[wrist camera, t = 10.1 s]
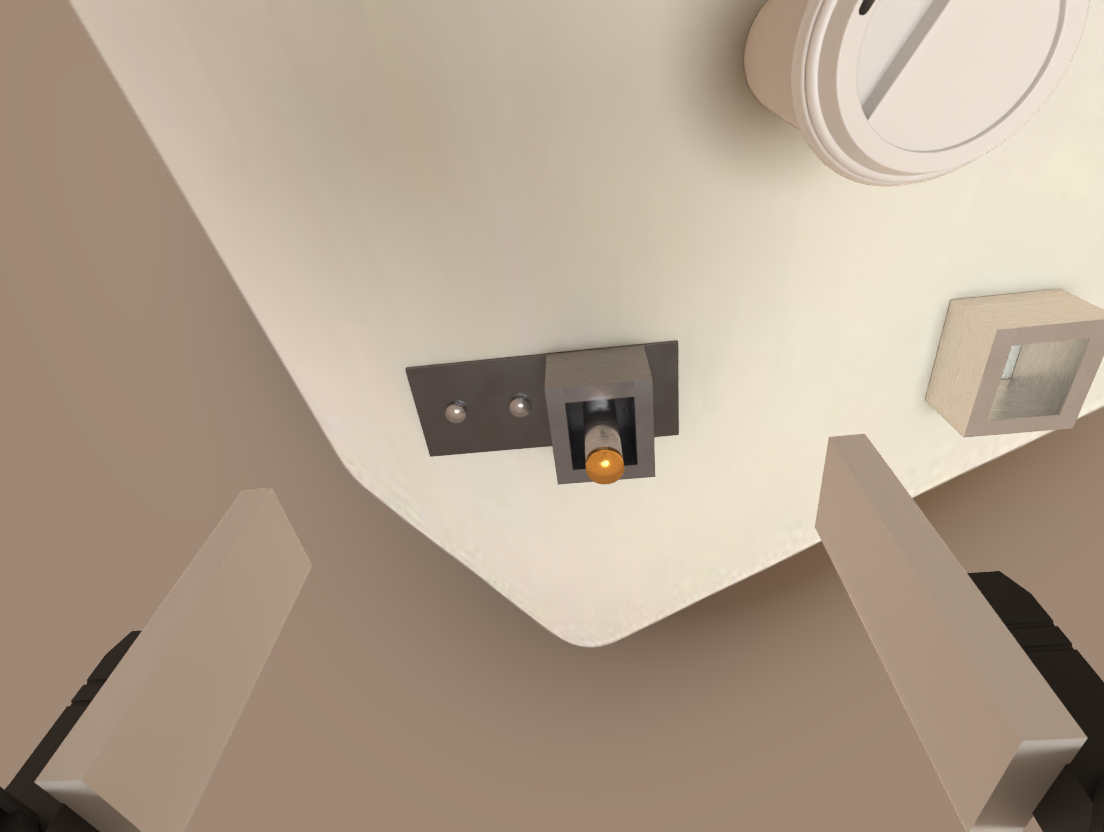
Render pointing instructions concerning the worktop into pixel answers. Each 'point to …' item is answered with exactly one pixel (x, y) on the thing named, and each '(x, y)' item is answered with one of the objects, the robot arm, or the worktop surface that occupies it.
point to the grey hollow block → (597, 381)
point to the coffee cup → (909, 77)
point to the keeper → (532, 408)
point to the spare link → (1041, 369)
